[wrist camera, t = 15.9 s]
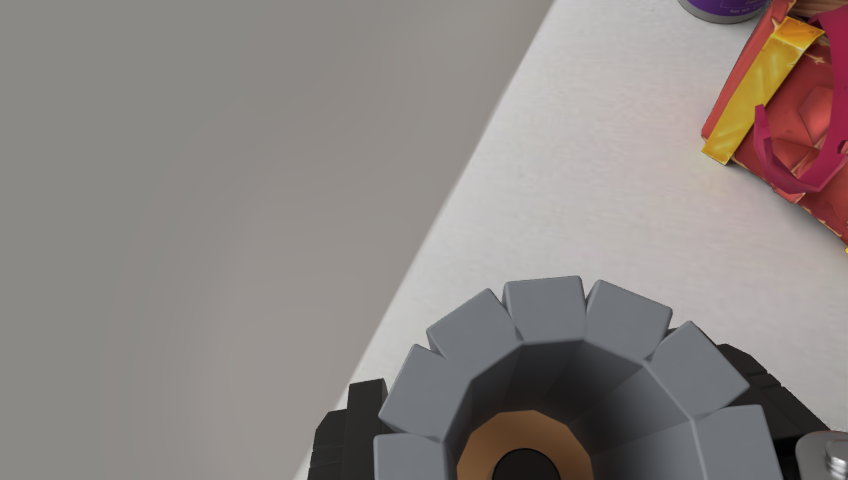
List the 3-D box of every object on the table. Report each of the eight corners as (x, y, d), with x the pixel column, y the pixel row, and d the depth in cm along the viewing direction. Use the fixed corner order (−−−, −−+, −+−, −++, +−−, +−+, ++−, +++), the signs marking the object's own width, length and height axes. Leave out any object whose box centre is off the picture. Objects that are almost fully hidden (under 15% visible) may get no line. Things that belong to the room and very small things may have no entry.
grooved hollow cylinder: (592, 654, 14) (722, 820, 7) (380, 535, 16) (300, 568, 8) (664, 427, 16) (827, 368, 9) (470, 339, 17) (471, 224, 10)
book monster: (943, 157, 26) (789, 360, 23) (755, 55, 29) (602, 225, 27) (1210, -40, 16) (993, 273, 14) (883, -162, 19) (660, 76, 17)
